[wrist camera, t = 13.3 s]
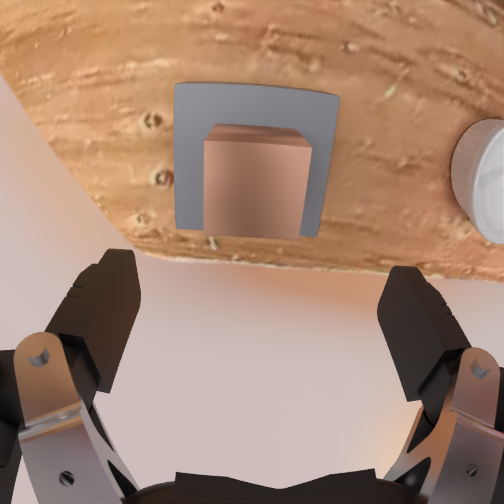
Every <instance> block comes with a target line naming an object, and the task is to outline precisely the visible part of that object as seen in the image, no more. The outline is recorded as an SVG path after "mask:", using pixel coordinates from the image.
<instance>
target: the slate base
mask: <svg viewBox="0 0 504 504" xmlns="http://www.w3.org/2000/svg"><path fill="white" fill-rule="evenodd" d="M339 99H340V96H337V95H334V94H331V93H327V92H323V91H316V90H309V89H301V88H293V87H284V86H274V85H263V84H250V83H232V82H182V83H177V84H175V95H174V192H175V220H176V229H191V230H204V222H203V202H204V140H205V139H206V137H207V136H208V134H209V132H210V131H211V129H212V128H213V126H214V124H238V125H255V126H269V127H281V128H291V129H297V130H298V131H299V132H300V134H301V135H302V136H303V137H304V138H305V140H306V141H307V142H308V143H309V145H310V146H311V147H312V153H311V160H310V167H309V174H308V181H307V188H306V195H305V202H304V208H303V215H302V221H301V227H300V234H299V236H309V237H317V233H318V228H319V222H320V217H321V212H322V207H323V201H324V196H325V190H326V184H327V178H328V173H329V167H330V160H331V154H332V148H333V141H334V135H335V128H336V121H337V114H338V107H339Z"/></svg>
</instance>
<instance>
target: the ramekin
mask: <svg viewBox="0 0 504 504" xmlns="http://www.w3.org/2000/svg"><path fill="white" fill-rule="evenodd" d="M451 183H452V188H453V191H454V195H455V197H456V200H457V202H458V203H459V205H460V206H461V208H462V209H463V210H464V211H465V213H466V214H467V215H468V217H469V218H470V219H471V221H472V223H473V225H474V227H475V228H476V230H477V231H478V232H479V233H480V234H481V235H482V236H483V237H484V238H485V239H487V240H488V241H490V242H492V243H497V244H504V120H498V119H486V120H481V121H479V122H477V123H475V124H474V125H472V126H471V127H470V128H468V129H467V131H466V132H465V133H464V134H463V136H462V137H461V138H460V140H459V142H458V144H457V146H456V148H455V151H454V154H453V158H452V164H451Z"/></svg>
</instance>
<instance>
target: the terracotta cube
mask: <svg viewBox="0 0 504 504" xmlns="http://www.w3.org/2000/svg"><path fill="white" fill-rule="evenodd" d="M311 153H312V147H311V146H310V145H309V143H308V142H307V141H306V140H305V138H304V137H303V136H302V135H301V134H300V132H299V131H298V130H297V129H291V128H281V127H269V126H255V125H238V124H214V126H213V128H212V129H211V131H210V132H209V134H208V136H207V137H206V139H205V140H204V202H203V222H204V235H218V236H237V237H256V238H273V239H291V240H299V234H300V227H301V221H302V215H303V208H304V202H305V195H306V188H307V181H308V174H309V167H310V160H311Z"/></svg>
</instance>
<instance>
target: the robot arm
mask: <svg viewBox="0 0 504 504" xmlns="http://www.w3.org/2000/svg"><path fill="white" fill-rule="evenodd" d="M140 302H141V290H140V284H139V279H138V273H137V267H136V261H135V255H134V253H133V251H132V250H125V249H108V250H107V251H106V252H105V254H104V255H103V257H102V258H101V260H100V261H99V263H98V264H91V265H90V266H89V267H88V268H86V269H85V270H84V271H82V272H81V273H80V274H79V276H78V277H77V279H76V280H75V282H74V283H73V287H71V288H70V290H69V291H68V293H67V297H65V298H64V299H63V301H62V303H61V304H60V306H59V307H58V309H57V311H56V312H55V314H54V316H53V318H52V319H51V321H50V323H49V324H48V326H47V328H46V330H45V331H44V332H38V333H34V334H32V335H29V336H28V337H26V338H25V339H24V340H22V341H21V342H20V343H19V345H18V346H17V348H16V350H2V351H0V504H11V500H12V495H13V490H14V486H15V481H16V476H17V472H18V468H19V464H20V460H21V456H22V455H23V458H24V462H25V465H26V468H27V471H28V475H29V478H30V481H31V483H32V486H33V489H34V492H35V494H36V497H37V500H38V503H39V504H504V368H503V367H499V366H498V364H497V362H496V360H495V359H494V357H493V356H491V354H489V353H488V352H487V351H485V350H483V349H481V348H475V347H472V346H471V345H470V343H469V341H468V339H467V338H466V336H465V334H464V332H463V331H462V329H461V327H460V325H459V323H458V322H457V320H456V319H455V317H454V315H452V312H451V310H450V308H449V307H448V306H446V304H447V303H446V302H445V300H444V299H443V297H442V295H441V294H440V292H439V291H437V290H436V289H435V288H434V287H433V286H432V285H431V284H430V283H428V282H427V281H426V280H425V278H424V277H423V275H422V273H421V272H420V270H419V269H418V268H417V267H414V266H394V267H393V268H392V269H391V271H390V274H389V277H388V279H387V282H386V285H385V287H384V290H383V293H382V295H381V298H380V300H379V303H378V308H377V316H378V321H379V324H380V327H381V329H382V332H383V334H384V337H385V340H386V342H387V345H388V348H389V350H390V353H391V356H392V358H393V361H394V364H395V367H396V370H397V372H398V375H399V378H400V381H401V384H402V387H403V390H404V393H405V396H406V399H407V402H409V401H416V400H422V404H423V405H422V406H421V408H420V409H419V411H418V413H417V416H416V418H415V421H414V423H413V426H412V428H411V431H410V433H409V435H408V438H407V440H406V443H405V445H404V447H403V449H402V451H401V453H400V456H399V457H398V459H397V461H396V462H395V464H394V465H393V466H392V467H391V468H390V470H389V471H388V472H387V474H386V475H385V477H384V478H383V479H377V478H376V475H375V469H374V468H373V469H368V470H361V471H354V472H347V473H338V474H330V475H327V476H324V477H321V478H318V479H315V480H312V481H308V482H305V483H302V484H298V485H295V486H291V487H288V488H284V489H275V488H270V487H265V486H261V485H257V484H252V483H248V482H244V481H240V480H236V479H233V478H229V477H223V476H209V475H198V474H189V473H180V472H176V478H175V481H173V482H165V483H160V484H155V485H152V486H149V487H146V488H143V489H141V490H140V488H139V487H138V485H137V483H136V482H135V480H134V478H133V477H132V475H131V473H130V472H129V470H128V469H127V467H126V466H125V464H124V463H123V461H122V460H121V458H120V456H119V455H118V453H117V451H116V449H115V447H114V445H113V443H112V441H111V439H110V437H109V435H108V433H107V430H106V428H105V426H104V424H103V422H102V419H101V417H100V415H99V413H98V410H97V408H96V406H95V404H94V402H93V400H94V397H95V394H96V391H100V392H105V393H110V391H111V388H112V385H113V381H114V378H115V375H116V372H117V369H118V366H119V363H120V360H121V357H122V354H123V352H124V349H125V346H126V343H127V341H128V338H129V335H130V332H131V329H132V326H133V324H134V321H135V319H136V316H137V313H138V311H139V308H140Z"/></svg>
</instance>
